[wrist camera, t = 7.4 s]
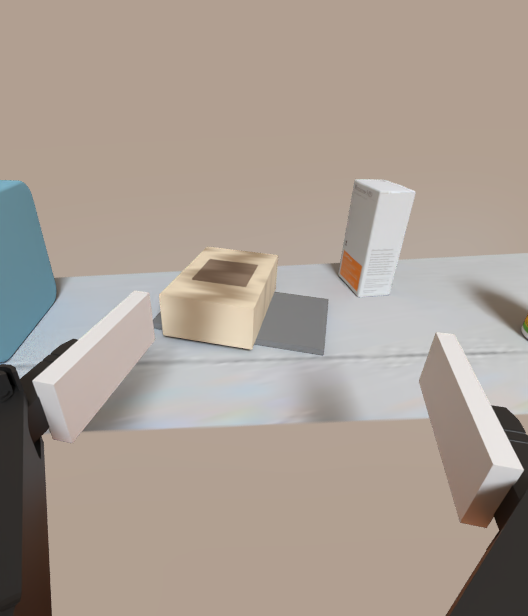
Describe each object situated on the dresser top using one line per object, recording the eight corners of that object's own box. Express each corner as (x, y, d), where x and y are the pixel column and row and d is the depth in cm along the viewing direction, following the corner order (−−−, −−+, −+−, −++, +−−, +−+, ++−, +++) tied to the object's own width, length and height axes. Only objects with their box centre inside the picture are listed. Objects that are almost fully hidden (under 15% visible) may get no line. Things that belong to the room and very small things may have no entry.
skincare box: (336, 276, 46) (353, 178, 40) (366, 274, 47) (387, 179, 41) (357, 298, 41) (379, 190, 35) (390, 296, 41) (418, 190, 36)
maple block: (158, 293, 29) (207, 245, 39) (163, 335, 31) (208, 279, 41) (253, 307, 28) (278, 254, 38) (252, 349, 30) (275, 288, 40)
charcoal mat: (151, 327, 33) (150, 322, 33) (189, 284, 41) (189, 280, 41) (323, 355, 31) (324, 349, 31) (327, 303, 39) (328, 299, 39)
